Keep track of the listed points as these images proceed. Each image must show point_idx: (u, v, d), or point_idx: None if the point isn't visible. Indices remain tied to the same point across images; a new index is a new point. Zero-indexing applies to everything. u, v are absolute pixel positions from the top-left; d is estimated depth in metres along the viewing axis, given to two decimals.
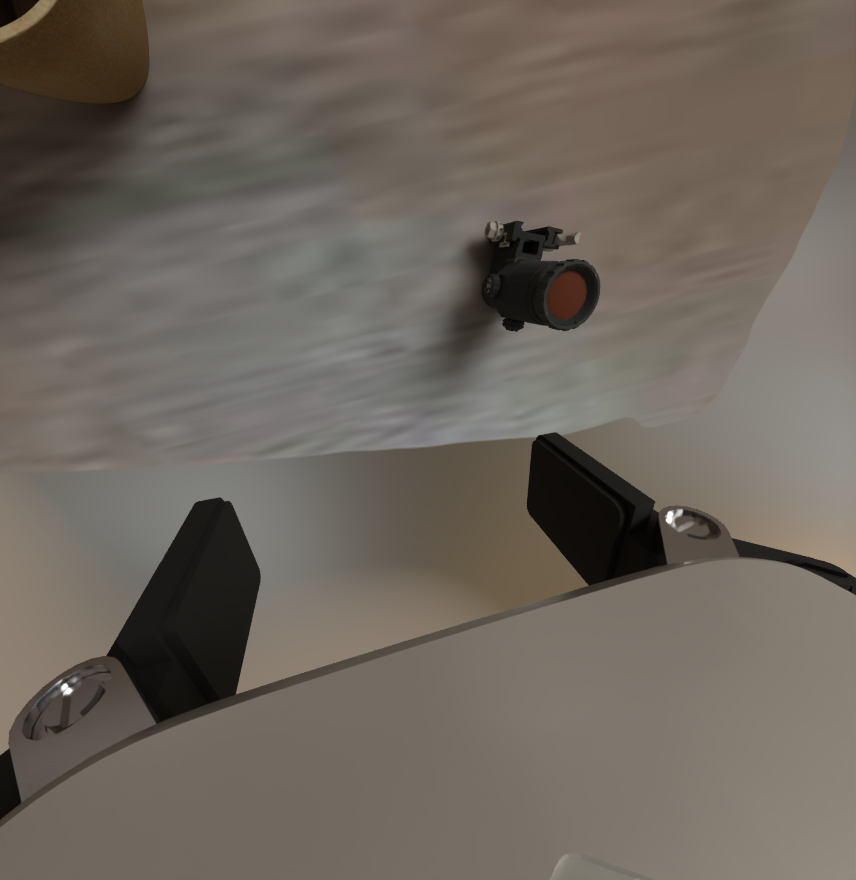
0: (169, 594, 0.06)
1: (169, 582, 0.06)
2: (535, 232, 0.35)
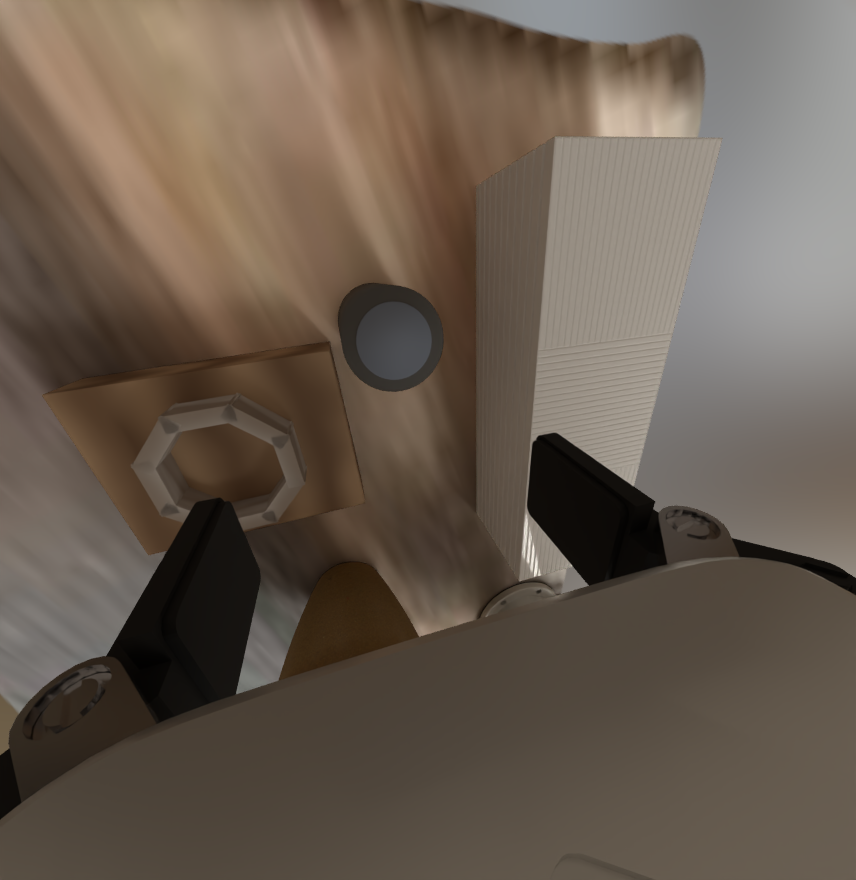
0: (169, 594, 0.06)
1: (169, 582, 0.06)
2: None
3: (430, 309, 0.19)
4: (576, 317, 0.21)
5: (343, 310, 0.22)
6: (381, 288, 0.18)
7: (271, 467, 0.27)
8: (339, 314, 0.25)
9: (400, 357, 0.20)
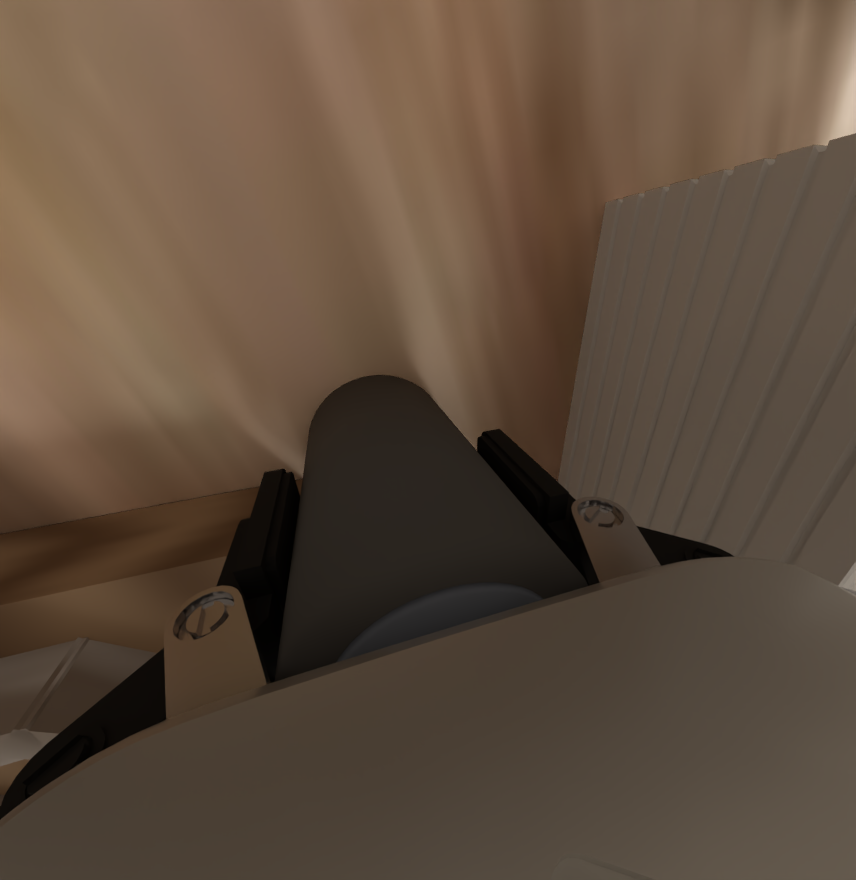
0: (266, 539, 0.07)
1: (262, 531, 0.07)
2: None
3: (571, 581, 0.06)
4: None
5: (304, 496, 0.09)
6: (422, 559, 0.05)
7: None
8: (306, 454, 0.12)
9: None
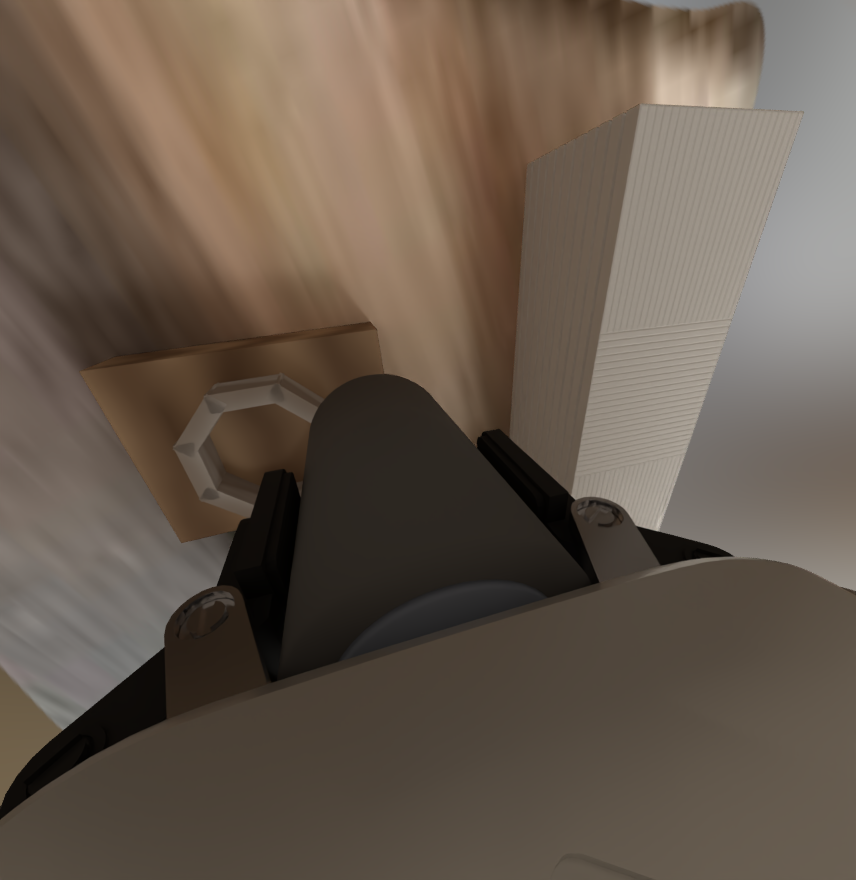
0: (266, 539, 0.07)
1: (263, 531, 0.07)
2: None
3: (574, 578, 0.06)
4: (640, 300, 0.21)
5: (305, 494, 0.09)
6: (425, 556, 0.05)
7: None
8: None
9: None
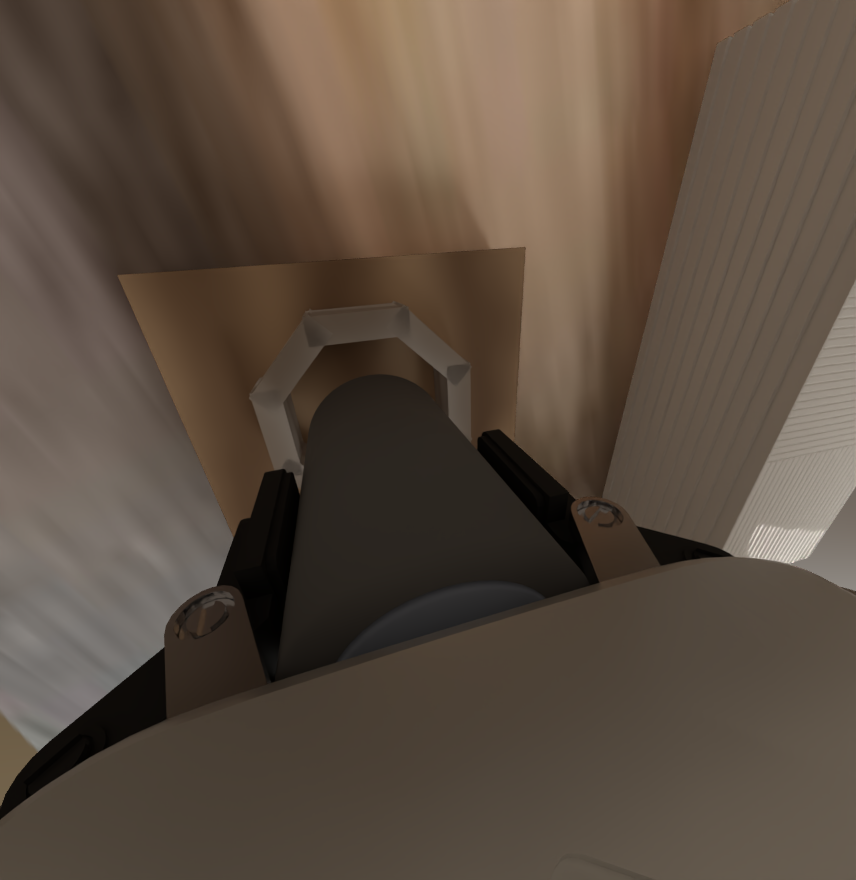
0: (266, 539, 0.07)
1: (263, 531, 0.07)
2: None
3: (572, 578, 0.06)
4: None
5: (304, 495, 0.09)
6: (423, 557, 0.05)
7: None
8: None
9: None
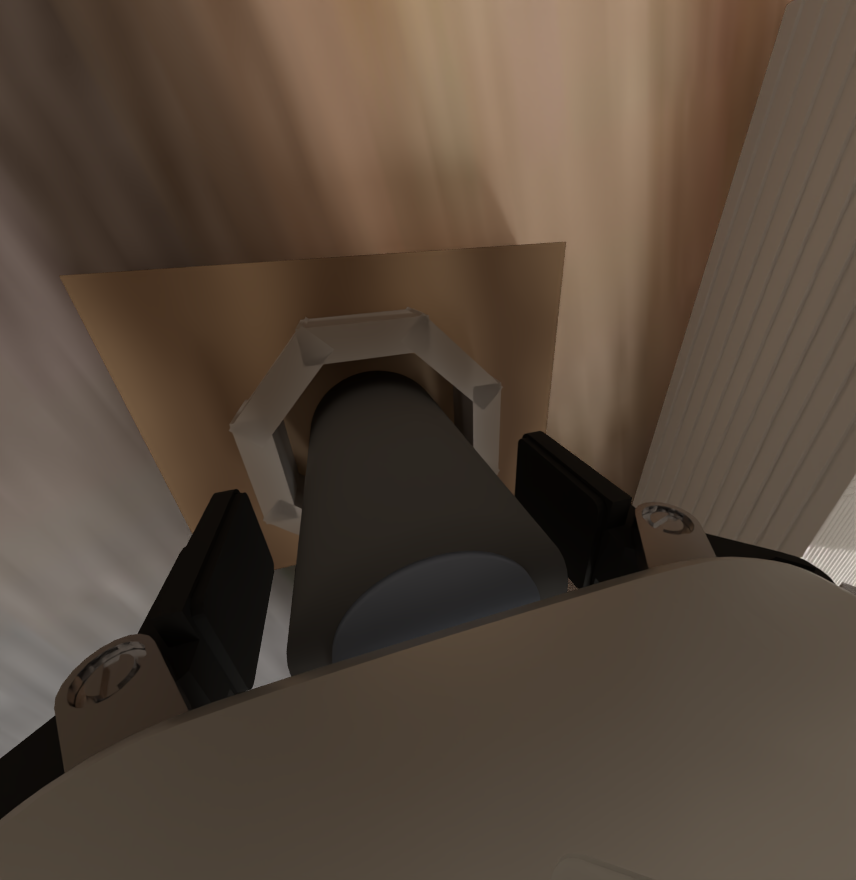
0: (196, 577, 0.06)
1: (195, 566, 0.07)
2: None
3: (547, 551, 0.07)
4: None
5: (310, 481, 0.09)
6: (416, 529, 0.06)
7: None
8: (309, 445, 0.12)
9: None
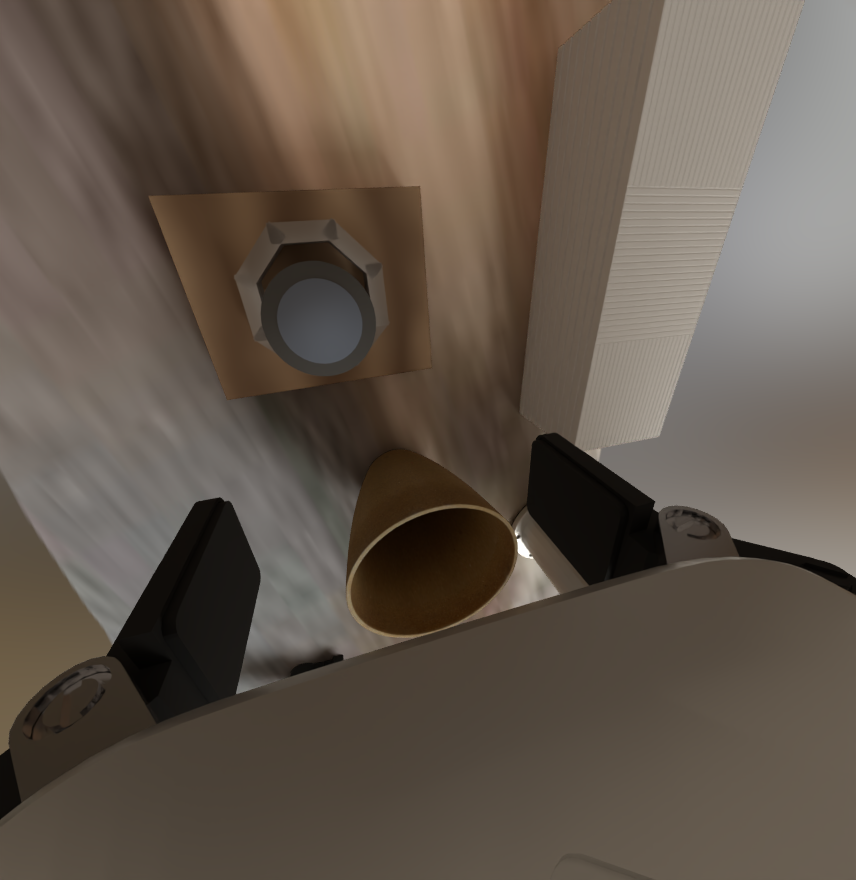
0: (169, 594, 0.06)
1: (169, 582, 0.06)
2: None
3: (359, 288, 0.18)
4: (664, 155, 0.23)
5: None
6: (302, 263, 0.17)
7: None
8: None
9: (328, 340, 0.19)
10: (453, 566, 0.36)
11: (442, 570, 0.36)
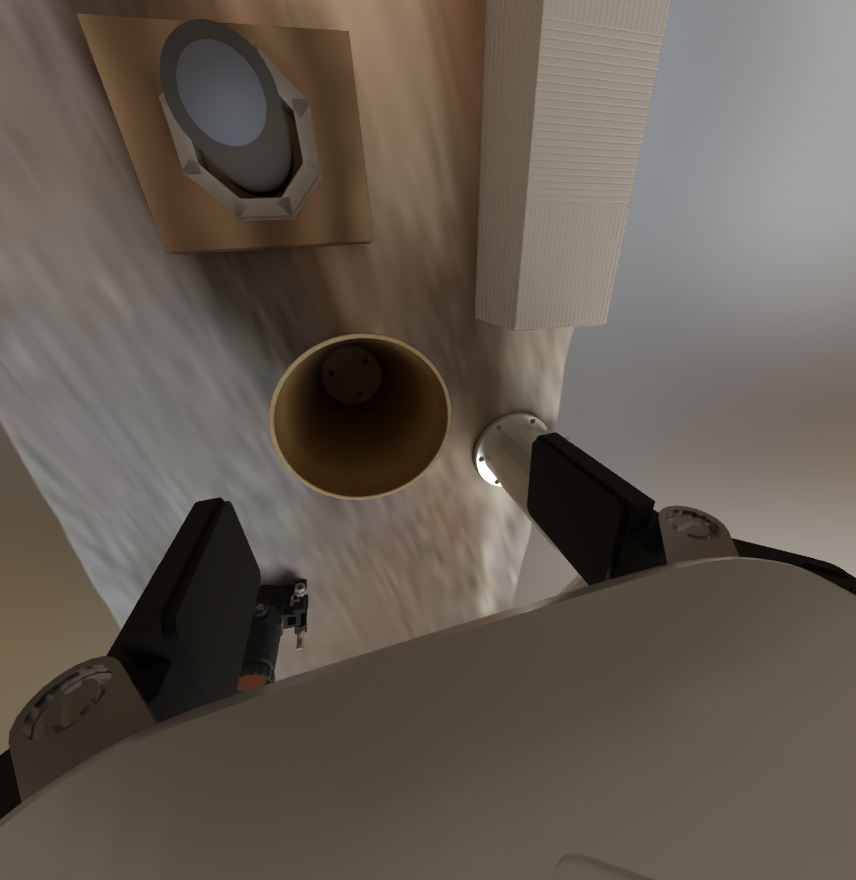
0: (170, 594, 0.06)
1: (169, 582, 0.06)
2: (305, 612, 0.52)
3: (260, 62, 0.19)
4: None
5: None
6: (199, 21, 0.18)
7: None
8: None
9: (232, 117, 0.19)
10: (398, 449, 0.36)
11: (387, 454, 0.36)
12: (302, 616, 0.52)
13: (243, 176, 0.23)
